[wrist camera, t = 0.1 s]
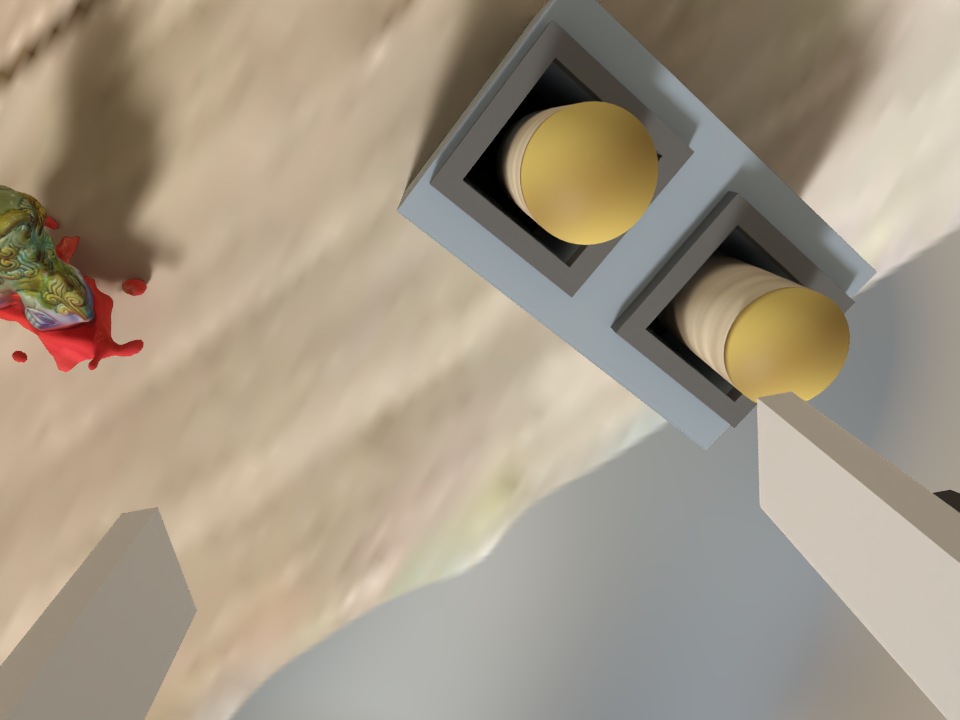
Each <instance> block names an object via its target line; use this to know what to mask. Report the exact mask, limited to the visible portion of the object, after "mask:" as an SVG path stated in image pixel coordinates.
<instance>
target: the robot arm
mask: <svg viewBox="0 0 960 720" xmlns="http://www.w3.org/2000/svg"><path fill="white" fill-rule="evenodd" d="M757 414H758V451H759V453H758V454H759V490H760V492H759V493H760V507H761V508H762V509H763V510H764V512H765V513H766V514H767V515H768V516H769V517H770V518H771V520H772V521H773V522H774V523H775V524H776V525H777V526H778V527H779V529H780V530H781V531H782V532H783V533H784V534H785V536H786V537H787V538H788V539H789V540H790V541H791V542H792V544H793V545H794V546H795V547H796V548H797V549H798V550H799V551H800V552H801V554H802V555H803V556H804V557H805V558H806V559H807V560H808V562H809V563H810V564H811V565H812V566H813V567H814V569H815V570H816V571H817V572H818V573H819V574H820V575H821V576H822V577H823V579H824V580H825V581H826V582H827V583H828V584H829V585H830V587H831V588H832V589H833V590H834V591H835V592H836V593H837V595H838V596H839V597H840V598H841V599H842V600H843V601H844V603H845V604H846V605H847V606H848V607H849V608H850V609H851V611H852V612H853V613H854V614H855V615H856V616H857V617H858V618H859V620H860V621H861V622H862V623H863V624H864V625H865V627H866V628H867V629H868V630H869V631H870V632H871V633H872V635H873V636H874V637H875V638H876V639H877V640H878V641H879V642H880V644H881V645H882V646H883V647H884V648H885V649H886V650H887V652H888V653H889V654H890V655H891V656H892V657H893V658H894V660H895V661H896V662H897V663H898V664H899V665H900V666H901V668H902V669H903V670H904V671H905V672H906V673H907V674H908V675H909V677H910V678H911V679H912V680H913V681H914V682H915V683H916V684H917V686H918V687H919V688H920V689H921V690H922V691H923V692H924V694H925V695H926V696H927V697H928V698H929V699H930V700H931V702H932V703H933V704H934V705H935V706H936V707H937V708H938V709H939V711H940V712H941V713H942V714H943V715H944V716H945V718H946V719H947V720H960V493H957V492H955V491H952V490H947V491H941V492H936V493H931V492H930V491H929V490H927V489H926V488H925V487H923V486H922V485H920V484H919V483H918V482H916V481H915V480H913V479H912V478H911V477H909V476H908V475H907V474H905V473H904V472H902V471H901V470H900V469H898V468H897V467H895V466H894V465H893V464H891V463H890V462H889V461H887V460H886V459H884V458H883V457H882V456H880V455H879V454H877V453H876V452H875V451H873V450H872V449H870V448H869V447H868V446H866V445H865V444H864V443H862V442H861V441H859V440H858V439H857V438H855V437H854V436H853V435H851V434H850V433H848V432H847V431H845V430H844V429H843V428H841V427H840V426H839V425H837V424H836V423H835V422H833V421H832V420H830V419H829V418H828V417H826V416H825V415H823V414H822V413H821V412H819V411H818V410H816V409H815V408H814V407H812V406H811V405H810V404H808V403H807V402H805V401H804V400H803V399H801V398H800V397H798V396H797V395H796V394H794V393H793V392H792V391H791V392H786V393H780V394H775V395H769V396H764V397H758V398H757ZM196 611H197V610H196V607H195V604H194V602H193V599H192V596H191V594H190V591H189V589H188V586H187V583H186V581H185V578H184V575H183V573H182V570H181V567H180V565H179V562H178V560H177V557H176V554H175V552H174V549H173V546H172V544H171V541H170V539H169V536H168V533H167V531H166V528H165V525H164V523H163V520H162V517H161V515H160V512H159V510H158V507H156V508H150V509H145V510H139V511H134V512H128V513H123V514H121V516H120V517H119V518H118V519H117V521H116V522H115V523H114V524H113V526H112V527H111V528H110V529H109V531H108V532H107V533H106V535H105V536H104V537H103V538H102V540H101V541H100V542H99V543H98V545H97V546H96V547H95V548H94V550H93V551H92V552H91V553H90V555H89V556H88V557H87V558H86V560H85V561H84V562H83V563H82V565H81V566H80V567H79V568H78V570H77V571H76V572H75V573H74V575H73V576H72V577H71V578H70V580H69V581H68V582H67V583H66V585H65V586H64V587H63V588H62V590H61V591H60V592H59V593H58V595H57V596H56V597H55V598H54V600H53V601H52V602H51V603H50V605H49V606H48V607H47V609H46V610H45V611H44V612H43V614H42V615H41V616H40V617H39V619H38V620H37V621H36V622H35V624H34V625H33V626H32V627H31V629H30V630H29V631H28V632H27V634H26V635H25V636H24V637H23V639H22V640H21V641H20V642H19V644H18V645H17V646H16V647H15V649H14V650H13V651H12V652H11V654H10V655H9V656H8V657H7V659H6V660H5V661H4V662H3V664H2V665H1V666H0V720H144V719H145V717H146V715H147V713H148V711H149V709H150V707H151V705H152V703H153V701H154V698H155V696H156V694H157V692H158V690H159V688H160V686H161V684H162V682H163V680H164V678H165V676H166V674H167V671H168V669H169V667H170V665H171V663H172V661H173V659H174V657H175V655H176V653H177V651H178V649H179V647H180V644H181V642H182V640H183V638H184V636H185V634H186V632H187V630H188V628H189V626H190V624H191V622H192V620H193V617H194V615H195V613H196Z"/></svg>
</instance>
